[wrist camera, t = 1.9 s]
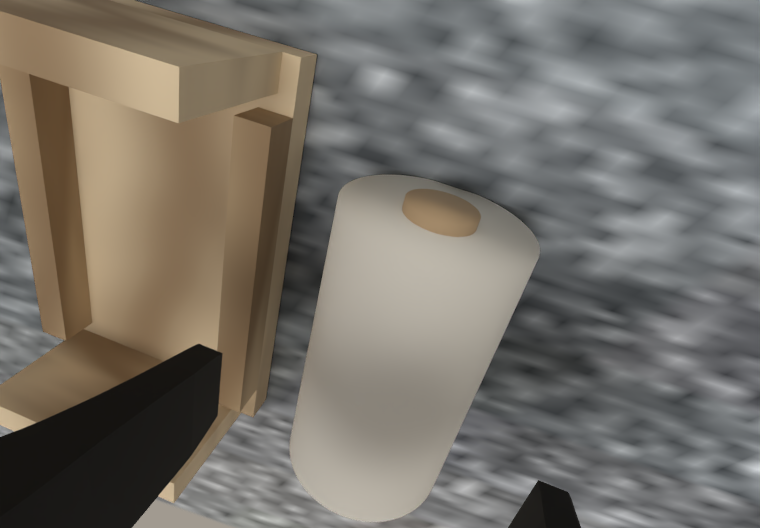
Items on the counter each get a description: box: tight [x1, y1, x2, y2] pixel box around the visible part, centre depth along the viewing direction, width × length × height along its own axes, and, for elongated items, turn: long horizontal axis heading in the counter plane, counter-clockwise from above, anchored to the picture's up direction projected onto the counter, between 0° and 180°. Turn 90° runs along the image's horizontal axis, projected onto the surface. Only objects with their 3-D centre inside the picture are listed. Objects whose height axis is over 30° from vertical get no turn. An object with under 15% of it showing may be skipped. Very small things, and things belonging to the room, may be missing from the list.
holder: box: [0, 0, 317, 503], centre depth 14 cm, size 8×13×5 cm, turn 167°
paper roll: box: [290, 175, 540, 522], centre depth 13 cm, size 9×5×5 cm, turn 166°
